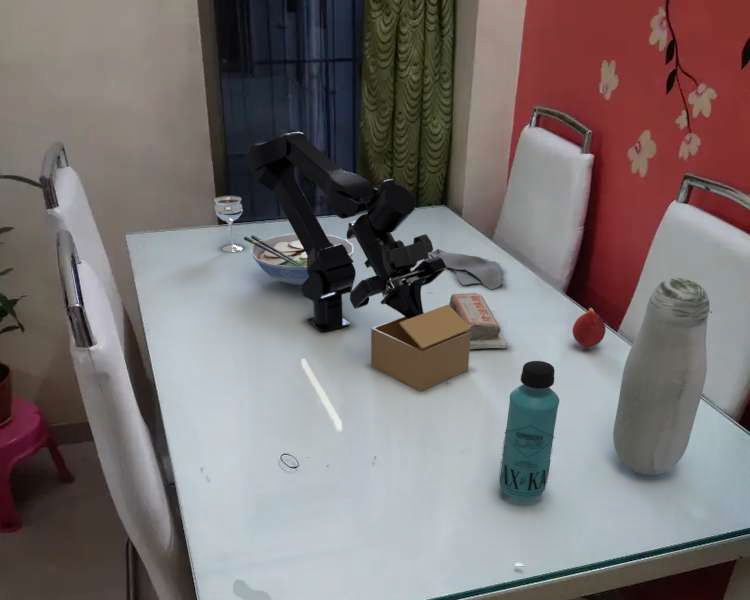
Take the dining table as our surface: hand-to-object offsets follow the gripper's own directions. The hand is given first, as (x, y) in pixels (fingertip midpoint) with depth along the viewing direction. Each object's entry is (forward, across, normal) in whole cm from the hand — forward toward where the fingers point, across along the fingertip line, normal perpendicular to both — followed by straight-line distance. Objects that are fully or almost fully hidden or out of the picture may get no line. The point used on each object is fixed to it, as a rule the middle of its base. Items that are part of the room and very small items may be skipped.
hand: (421, 324), depth 136 cm
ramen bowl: (-28, +11, +40) cm, 50 cm away
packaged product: (+3, +19, +10) cm, 21 cm away
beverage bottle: (+32, -16, -20) cm, 41 cm away
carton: (+6, 0, +6) cm, 9 cm away
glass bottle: (+37, +2, -25) cm, 45 cm away
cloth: (-14, +44, +26) cm, 54 cm away
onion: (+17, +29, -4) cm, 34 cm away
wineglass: (-49, +11, +61) cm, 79 cm away
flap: (+2, 0, -3) cm, 3 cm away
